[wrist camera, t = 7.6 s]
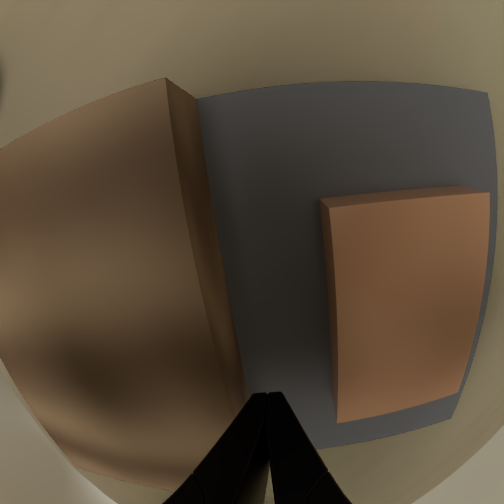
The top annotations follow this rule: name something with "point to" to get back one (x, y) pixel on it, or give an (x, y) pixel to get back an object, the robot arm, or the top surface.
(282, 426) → the robot arm
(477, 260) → the tile
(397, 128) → the mat
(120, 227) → the board
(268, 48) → the top surface
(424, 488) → the top surface
